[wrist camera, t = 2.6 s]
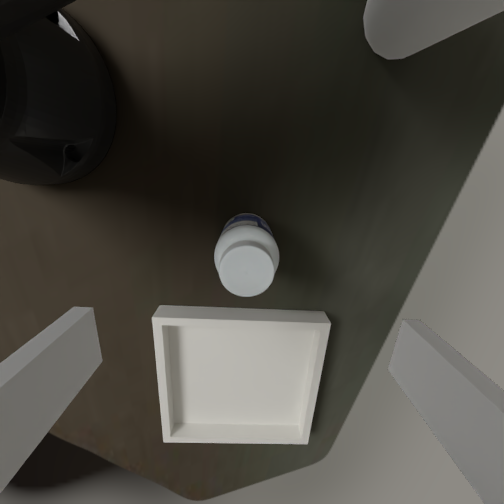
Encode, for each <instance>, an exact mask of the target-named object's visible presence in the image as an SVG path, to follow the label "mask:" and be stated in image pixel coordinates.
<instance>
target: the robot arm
mask: <svg viewBox="0 0 504 504" xmlns="http://www.w3.org/2000/svg"><path fill="white" fill-rule="evenodd" d="M74 1H76V0H0V179H3V180H6V181H10V182H14V183H20V184H28V185H47V184H61V183H67V182H71V181H74V180H77V179H79V178H81V177H83V176H85V175H87V174H88V173H90V172H91V171H92V170H94V169H95V168H96V167H97V166H98V165H99V164H100V162H101V161H102V160H103V158H104V157H105V155H106V154H107V152H108V150H109V148H110V145H111V143H112V140H113V137H114V132H115V126H116V100H115V94H114V89H113V85H112V81H111V78H110V75H109V72H108V70H107V67H106V65H105V63H104V61H103V59H102V57H101V55H100V53H99V51H98V50H97V48H96V46H95V45H94V43H93V42H92V40H91V39H90V37H89V36H88V35H87V34H86V32H85V31H84V30H83V29H82V27H81V26H80V25H79V24H78V23H77V22H76V21H75V20H74V19H73V18H72V17H71V16H70V15H69V14H68V13H66V12H65V11H64V10H63V9H62V8H63V7H65V6H66V5H68V4H70V3H72V2H74ZM101 362H102V356H101V351H100V345H99V339H98V334H97V328H96V323H95V317H94V311H93V308H90V307H73V308H72V309H70V310H69V311H68V312H66V313H65V314H64V315H63V316H61V317H60V318H59V319H57V320H56V321H55V322H53V323H52V324H51V325H49V326H48V327H47V328H46V329H44V330H43V331H42V332H40V333H39V334H38V335H36V336H35V337H34V338H33V339H31V340H30V341H29V342H27V343H26V344H25V345H23V346H22V347H21V348H19V349H18V350H17V351H16V352H14V353H13V354H12V355H10V356H9V357H8V358H6V359H5V360H4V361H2V362H1V363H0V493H1V492H2V490H3V489H4V488H5V487H6V485H7V484H8V483H9V481H10V480H11V479H12V477H13V476H14V475H15V474H16V472H17V471H18V470H19V468H20V467H21V466H22V465H23V463H24V462H25V461H26V459H27V458H28V457H29V455H30V454H31V453H32V452H33V450H34V449H35V448H36V446H37V445H38V444H39V442H40V441H41V440H42V439H43V437H44V436H45V435H46V434H47V432H48V431H49V430H50V428H51V427H52V426H53V424H54V423H55V422H56V421H57V419H58V418H59V417H60V415H61V414H62V413H63V412H64V410H65V409H66V408H67V406H68V405H69V404H70V402H71V401H72V400H73V399H74V397H75V396H76V395H77V393H78V392H79V391H80V390H81V388H82V387H83V386H84V384H85V383H86V382H87V380H88V379H89V378H90V377H91V375H92V374H93V373H94V371H95V370H96V369H97V368H98V366H99V365H100V364H101ZM388 371H389V372H390V374H391V375H392V376H393V378H394V379H395V380H396V382H397V383H398V385H399V386H400V387H401V389H402V390H403V392H404V393H405V394H406V396H407V397H408V399H409V400H410V401H411V402H412V404H413V405H414V407H415V408H416V410H417V411H418V412H419V414H420V415H421V417H422V418H423V419H424V421H425V422H426V424H427V425H428V426H429V428H430V429H431V430H432V432H433V433H434V435H435V436H436V437H437V439H438V440H439V441H440V443H441V444H442V446H443V447H444V448H445V450H446V451H447V453H448V454H449V455H450V457H451V458H452V460H453V461H454V462H455V464H456V465H457V467H458V468H459V469H460V471H461V472H462V473H463V475H464V476H465V478H466V479H467V480H468V482H469V483H470V484H471V486H472V487H473V489H474V490H475V491H476V493H477V494H478V496H479V497H480V498H481V500H482V501H483V503H484V504H504V390H503V389H501V388H500V387H499V386H498V385H497V384H495V383H494V382H493V381H492V380H491V379H490V378H488V377H487V376H486V375H485V374H484V373H482V372H481V371H480V370H479V369H478V368H476V367H475V366H474V365H473V364H472V363H470V362H469V361H468V360H467V359H466V358H465V357H463V356H462V355H461V354H460V353H459V352H457V351H456V350H455V349H454V348H453V347H452V346H450V345H449V344H448V343H447V342H445V341H444V340H443V339H442V338H441V337H440V336H438V335H437V334H436V333H435V332H434V331H432V330H431V329H430V328H429V327H428V326H427V325H425V324H424V323H423V322H422V321H420V320H410V319H403V320H402V323H401V326H400V330H399V333H398V337H397V340H396V343H395V346H394V350H393V353H392V357H391V360H390V363H389V366H388Z"/></svg>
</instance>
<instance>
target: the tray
mask: <svg viewBox="0 0 504 504" xmlns="http://www.w3.org/2000/svg"><path fill="white" fill-rule="evenodd" d="M152 323H153V334H154V344H155V355H156V366H157V377H158V388H159V399H160V410H161V420H162V431H163V442H181V443H255V444H308V440H309V435H310V429H311V424H312V419H313V414H314V409H315V404H316V398H317V393H318V388H319V383H320V378H321V373H322V367H323V362H324V357H325V352H326V347H327V342H328V336H329V331H330V326H331V323H330V321H329V319H328V317H327V315H326V314H325V312H324V311H307V310H280V309H253V308H225V307H198V306H171V305H160V306H159V307H158V309H157V310H156V312H155V313H154V315H153V316H152Z"/></svg>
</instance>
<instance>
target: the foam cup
mask: <svg viewBox="0 0 504 504" xmlns="http://www.w3.org/2000/svg"><path fill="white" fill-rule="evenodd" d="M502 11H504V0H367V3H366V7H365V11H364V15H363V22H364V31H365V38H366V39H367V41H368V43H369V44H370V46H371V48H372V50H373V51H374V52H375V53H376V54H378V55H380V56H382V57H384V58H386V59H387V60H390V59H404V58H405V57H408V56H410V55H412V54H415V53H417V52H419V51H421V50H423V49H425V48H427V47H429V46H431V45H433V44H435V43H437V42H440V41H442V40H444V39H446V38H448V37H450V36H452V35H454V34H456V33H458V32H460V31H463V30H465V29H467V28H469V27H471V26H473V25H475V24H477V23H479V22H481V21H483V20H485V19H488V18H490V17H492V16H494V15H496V14H498V13H500V12H502Z"/></svg>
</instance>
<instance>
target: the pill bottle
mask: <svg viewBox="0 0 504 504" xmlns="http://www.w3.org/2000/svg"><path fill="white" fill-rule="evenodd" d="M214 261H215V265H216V268H217V271H218V273H219V276H220V280H221V282H222V284H223V285H224V287H225V288H226V289H227V290H228V291H230V292H231V293H233V294H235V295H238V296H243V297H251V296H255V295H258V294H260V293H262V292H264V291H265V290H266V289H267V288H268V287H269V286H270V284H271V283H272V281H273V278H274V273H275V272H276V270H277V267H278V264H279V250H278V247H277V244H276V242H275V239H274V237H273V235H272V232H271V230H270V228H269V226H268V225H267V223H266V222H265V221H264V220H263V219H262V218H261V217H259V216H257V215H254V214H250V213H243V214H239V215H236V216H234V217H233V218H231V219H230V220H229V221H228V222H227V223H226V225H225V227H224V229H223V231H222V233H221V235H220V238H219V240H218V242H217V245H216V248H215V252H214Z"/></svg>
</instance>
